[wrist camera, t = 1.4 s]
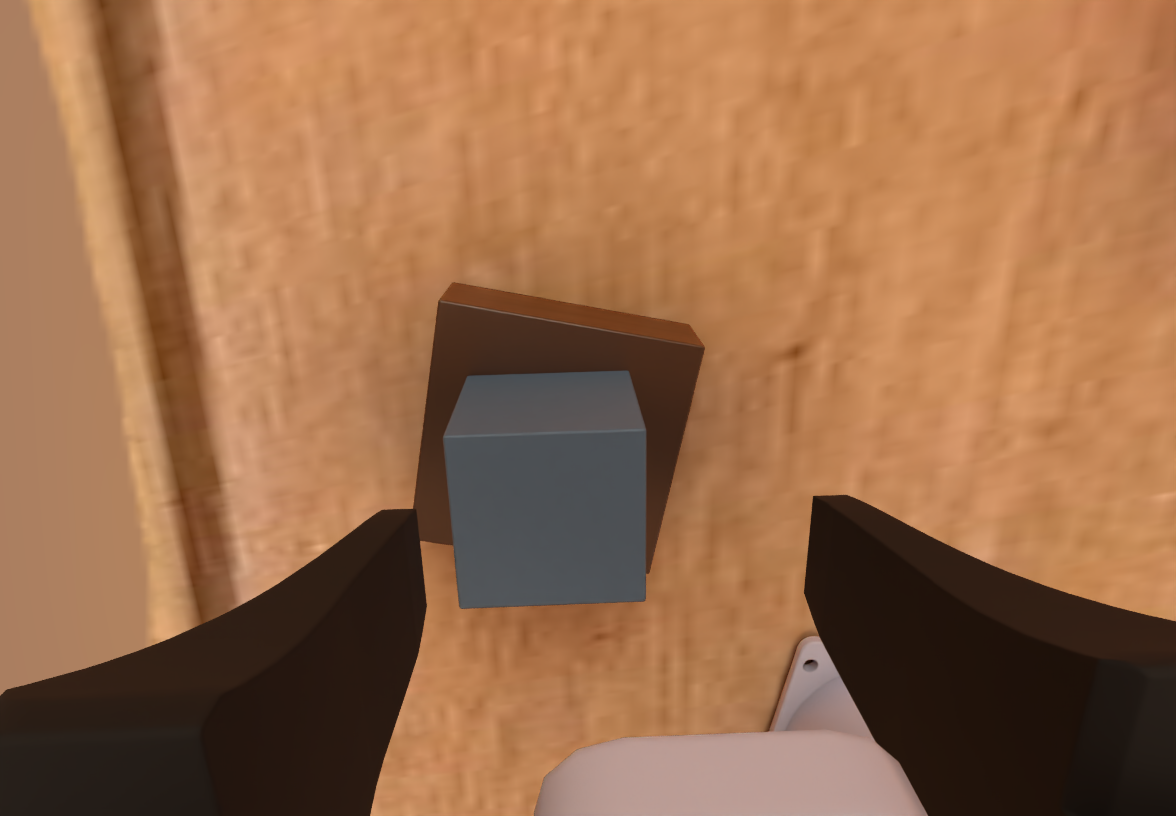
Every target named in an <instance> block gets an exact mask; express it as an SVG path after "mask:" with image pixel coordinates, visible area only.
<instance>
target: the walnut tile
mask: <svg viewBox="0 0 1176 816" xmlns="http://www.w3.org/2000/svg"><path fill="white" fill-rule="evenodd" d="M704 350H705V347H704V345H703V344H702V342H701V341H700V339H699V338H698V337H697V335H696V334H695V332H694V331H693V329H692V328H691V326H690V325H689V324H683V323H678V322H672V321H666V320H661V319H655V318H649V317H644V316H638V315H633V314H627V313H621V312H616V311H610V310H605V309H599V308H593V307H588V306H582V305H577V304H571V303H565V302H560V301H554V300H549V299H543V298H537V297H532V296H526V295H521V294H515V293H509V292H504V291H498V290H493V289H487V288H481V287H476V286H470V285H464V284H459V283H452V284H451V285H450V287H449V288H448V289H447V291H446V292H445V293H444V294H443V296H442V297H441V298H440V300H439V301H438V308H437V316H436V325H435V333H434V341H433V349H432V358H431V366H430V374H429V382H428V390H427V399H426V407H425V415H424V423H423V431H422V440H421V448H420V456H419V464H418V472H417V481H416V489H415V497H414V505H413V509H416V511H417V520H418V529H419V538H420V541H425V542H432V543H439V544H446V545H453V537H452V527H451V517H450V506H449V496H448V486H447V476H446V465H445V455H444V445H443V436H444V433H445V431H446V428H447V426H448V423H449V421H450V418H451V416H452V413H453V411H454V408H455V406H456V403H457V401H458V398H459V396H460V393H461V391H462V388H463V386H464V383H465V381H466V378H467V376H475V375H505V374H536V373H566V372H597V371H629V373H630V376H631V380H632V383H633V387H634V390H635V393H636V397H637V400H638V404H639V407H640V410H641V414H642V417H643V421H644V424H645V428H646V574H649V572H650V568H651V564H652V560H653V556H654V552H655V548H656V544H657V540H658V536H659V532H660V527H661V523H662V519H663V515H664V511H665V507H666V503H667V499H668V495H669V491H670V487H671V483H672V479H673V475H674V471H675V467H676V463H677V459H678V455H679V451H680V447H681V443H682V439H683V435H684V431H685V427H686V422H687V418H688V414H689V410H690V406H691V402H692V398H693V394H694V390H695V386H696V382H697V378H698V374H699V370H700V366H701V362H702V358H703V354H704Z"/></svg>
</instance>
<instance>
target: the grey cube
mask: <svg viewBox="0 0 1176 816" xmlns="http://www.w3.org/2000/svg"><path fill="white" fill-rule="evenodd" d="M443 445H444V455H445V465H446V476H447V486H448V496H449V506H450V517H451V527H452V537H453V548H454V558H455V568H456V578H457V589H458V599H459V607H460V608H461V609H468V608H493V607H518V606H543V605H567V604H592V603H617V602H642V601H645V599H646V428H645V424H644V421H643V417H642V414H641V410H640V407H639V404H638V400H637V397H636V393H635V390H634V387H633V383H632V380H631V376H630V373H629V371H597V372H566V373H536V374H505V375H475V376H467V378H466V381H465V383H464V386H463V388H462V391H461V393H460V396H459V398H458V401H457V403H456V406H455V408H454V411H453V413H452V416H451V418H450V421H449V423H448V426H447V428H446V431H445V433H444V436H443Z"/></svg>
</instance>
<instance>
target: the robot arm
mask: <svg viewBox="0 0 1176 816" xmlns="http://www.w3.org/2000/svg"><path fill="white" fill-rule="evenodd" d="M804 594H805V597H806V600H807V603H808V606H809V609H810V612H811V615H812V618H813V620H814V623H815V626H816V628H817V631H818V634H819V636H820V637H818V636H809V637H806V638H804V639H803V640H802V641H800V643H799V645H798V647H797V650H796V653H795V656H794V659H793V662H792V665H791V668H790V670H789V673H788V676H787V679H786V682H785V685H784V688H783V691H782V694H781V697H780V700H779V703H778V706H777V709H776V712H775V715H774V718H773V721H772V724H771V727H770V730H769V732H749V733H724V734H699V735H675V736H650V737H625V738H620V739H616V740H612V741H608V742H604V743H600V744H596V745H592V746H588V747H584V748H580V749H577V750H576V751H574V752H573V753H572V754H571V755H570V756H568V757H567V758H566V759H565V760H564V761H562V762H561V763H560V764H559V765H558V766H557V767H555V768H554V769H553V770H552V771H551V772H549V773H548V774H547V775H546V776H545V777H544V780H543V783H542V786H541V790H540V793H539V797H538V800H537V803H536V807H535V810H534V816H1176V621H1172V620H1167V619H1163V618H1158V617H1153V616H1149V615H1145V614H1141V613H1137V612H1133V611H1129V610H1125V609H1121V608H1117V607H1113V606H1109V605H1106V604H1103V603H1099V602H1096V601H1092V600H1089V599H1085V598H1082V597H1079V596H1075V595H1072V594H1068V593H1065V592H1062V591H1059V590H1056V589H1053V588H1050V587H1047V586H1044V585H1042V584H1039V583H1036V582H1034V581H1031V580H1028V579H1026V578H1023V577H1020V576H1018V575H1015V574H1012V573H1009V572H1007V571H1004V570H1002V569H1000V568H997V567H995V566H992V565H990V564H988V563H985V562H983V561H981V560H979V559H977V558H974V557H972V556H970V555H968V554H966V553H963V552H961V551H959V550H957V549H955V548H953V547H951V546H949V545H947V544H944V543H942V542H940V541H938V540H936V539H934V538H932V537H930V536H928V535H926V534H925V533H923V532H921V531H919V530H917V529H915V528H913V527H911V526H909V525H907V524H905V523H903V522H902V521H900V520H898V519H896V518H894V517H892V516H890V515H888V514H886V513H884V512H883V511H881V510H879V509H877V508H875V507H873V506H871V505H869V504H867V503H865V502H862V501H860V500H858V499H856V498H853V497H851V496H848V495H832V496H813V503H812V514H811V524H810V535H809V545H808V556H807V567H806V577H805V588H804ZM426 608H427V603H426V594H425V585H424V575H423V566H422V557H421V548H420V538H419V529H418V520H417V511H416V509H392V510H381V511H380V512H378V513H376V514H375V515H373V516H372V517H371V518H369V519H368V520H366V521H365V522H364V523H362V524H361V525H360V526H359V527H357V528H356V529H355V530H353V531H352V532H351V533H349V534H348V535H347V536H345V537H344V538H343V539H341V540H340V541H339V542H337V543H336V544H335V545H333V546H332V547H331V548H329V549H328V550H327V551H325V552H324V553H323V554H321V555H320V556H319V557H317V558H316V559H314V560H313V561H311V562H310V563H308V564H307V565H305V566H304V567H302V568H301V569H299V570H298V571H296V572H295V573H293V574H292V575H291V576H289V577H288V578H286V579H285V580H283V581H282V582H280V583H279V584H277V585H275V586H274V587H272V588H271V589H269V590H267V591H266V592H264V593H262V594H260V595H259V596H257V597H255V598H253V599H252V600H250V601H248V602H246V603H244V604H242V605H240V606H239V607H237V608H235V609H233V610H231V611H229V612H227V613H225V614H223V615H221V616H219V617H217V618H215V619H213V620H210V621H208V622H206V623H204V624H202V625H199V626H197V627H195V628H193V629H190V630H188V631H186V632H184V633H181V634H179V635H177V636H175V637H172V638H170V639H168V640H165V641H163V642H160V643H158V644H155V645H152V646H150V647H147V648H144V649H142V650H139V651H137V652H134V653H131V654H128V655H125V656H122V657H119V658H116V659H113V660H110V661H108V662H104V663H101V664H98V665H95V666H92V667H89V668H86V669H82V670H78V671H75V672H71V673H68V674H64V675H60V676H57V677H53V678H49V679H46V680H42V681H39V682H35V683H32V684H27V685H24V686H20V687H15V688H11V689H7V690H6V691H5V692H4V693H3V694H2V695H1V696H0V816H370V813H371V808H372V804H373V799H374V794H375V790H376V785H377V782H378V778H379V774H380V771H381V767H382V764H383V760H384V757H385V754H386V751H387V748H388V745H389V742H390V739H391V736H392V733H393V730H394V727H395V724H396V721H397V718H398V715H399V712H400V709H401V706H402V703H403V700H404V697H405V694H406V691H407V688H408V685H409V681H410V678H411V675H412V672H413V669H414V666H415V663H416V660H417V656H418V653H419V648H420V642H421V637H422V632H423V626H424V620H425V614H426ZM807 660H813V662H812V663H810V664H804V663H805V662H806V661H807Z"/></svg>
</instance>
